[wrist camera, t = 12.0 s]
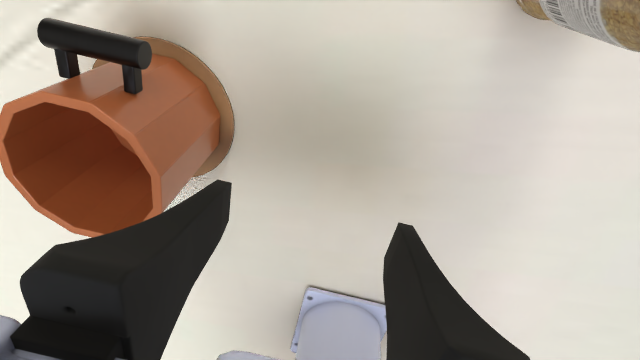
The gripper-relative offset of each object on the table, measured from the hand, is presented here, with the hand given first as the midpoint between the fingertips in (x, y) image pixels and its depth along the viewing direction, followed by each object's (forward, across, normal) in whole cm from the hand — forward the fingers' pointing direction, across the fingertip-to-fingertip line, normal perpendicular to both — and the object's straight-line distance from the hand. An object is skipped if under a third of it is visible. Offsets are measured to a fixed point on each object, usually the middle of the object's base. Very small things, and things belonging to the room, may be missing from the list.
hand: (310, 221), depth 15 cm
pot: (+10, +11, +1) cm, 15 cm away
